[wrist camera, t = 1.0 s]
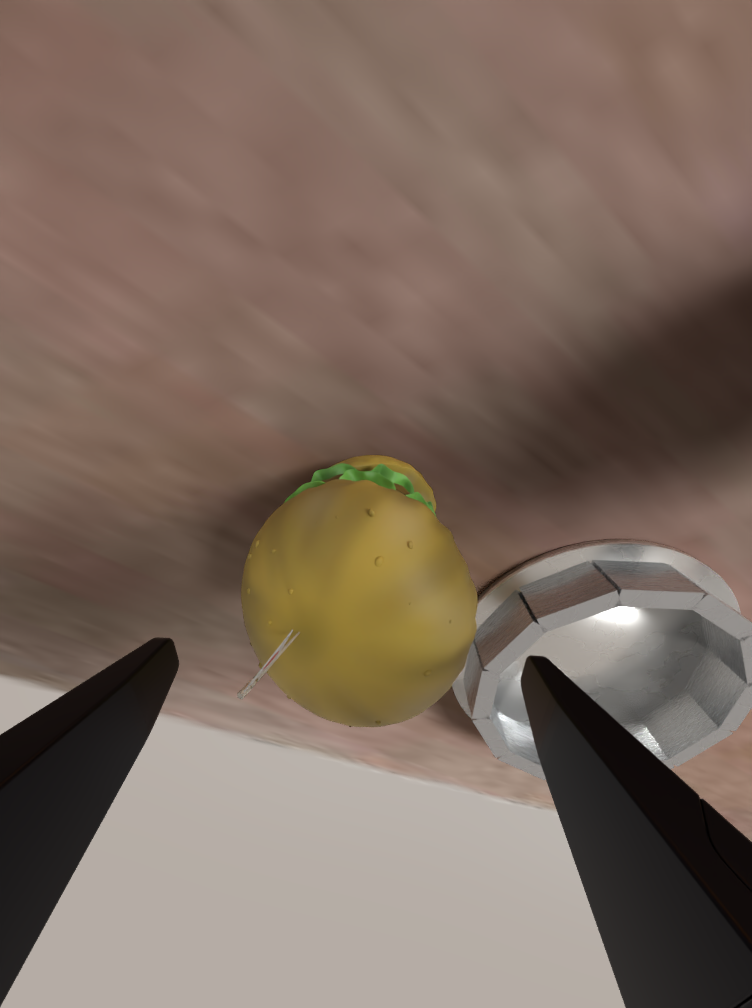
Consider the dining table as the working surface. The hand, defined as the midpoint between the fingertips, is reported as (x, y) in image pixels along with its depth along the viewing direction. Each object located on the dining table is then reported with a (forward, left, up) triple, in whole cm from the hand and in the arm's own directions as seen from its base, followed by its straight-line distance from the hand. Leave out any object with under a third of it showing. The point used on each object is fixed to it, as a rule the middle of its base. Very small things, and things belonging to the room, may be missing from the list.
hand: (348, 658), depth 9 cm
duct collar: (-14, +10, -10) cm, 20 cm away
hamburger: (0, 0, -10) cm, 10 cm away
